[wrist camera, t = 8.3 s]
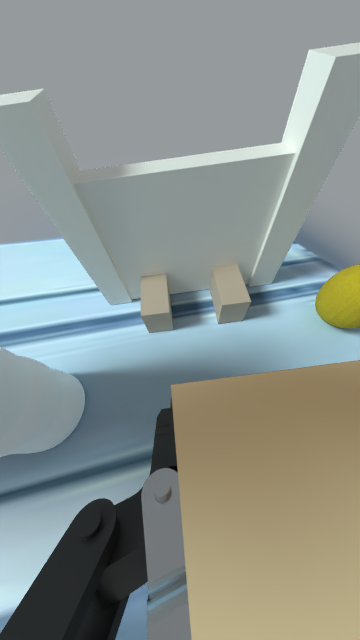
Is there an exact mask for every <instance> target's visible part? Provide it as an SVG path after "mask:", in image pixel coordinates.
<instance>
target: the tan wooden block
mask: <svg viewBox="0 0 360 640" xmlns="http://www.w3.org/2000/svg"><path fill="white" fill-rule="evenodd" d="M171 395H172V407H173V419H174V432H175V444H176V456H177V468H178V480H179V492H180V505H181V517H182V529H183V541H184V553H185V565H186V578H187V590H188V602H189V614H190V626H191V638H192V640H360V360H358V361H350V362H342V363H334V364H327V365H319V366H311V367H304V368H296V369H288V370H281V371H273V372H265V373H257V374H250V375H242V376H234V377H227V378H219V379H211V380H203V381H196V382H188V383H180V384H173V385H171Z"/></svg>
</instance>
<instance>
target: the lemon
mask: <svg viewBox="0 0 360 640" xmlns="http://www.w3.org/2000/svg"><path fill="white" fill-rule="evenodd" d="M315 306H316V311H317V313H318V315H319V316H320V317H321V318H322V319H323V320H324V321H325V322H327V323H328V324H330V325H332V326H335V327H340V328H358V327H360V264H357V265H353V266H351V267H348V268H346V269H343V270H342V271H340V272H338V273H337V274H335V275H334V276H333V277H331V278H330V279H329V280H328V281H327V282H326V283H325V284H324V285H323V286H322V287H321V289H320V291H319V292H318V294H317V297H316V302H315Z"/></svg>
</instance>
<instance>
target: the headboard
mask: <svg viewBox="0 0 360 640" xmlns="http://www.w3.org/2000/svg"><path fill="white" fill-rule="evenodd" d="M359 116H360V43H353V44H346V45H340V46H333V47H326V48H319V49H313V50H309V52H308V55H307V59H306V62H305V65H304V68H303V72H302V75H301V79H300V82H299V85H298V89H297V92H296V95H295V99H294V102H293V105H292V109H291V112H290V115H289V119H288V122H287V126H286V129H285V132H284V135H283V139H282V142H281V143H277V144H270V145H262V146H256V147H249V148H242V149H234V150H227V151H220V152H213V153H206V154H199V155H191V156H184V157H177V158H170V159H164V160H156V161H149V162H142V163H134V164H128V165H121V166H114V167H106V168H99V169H92V170H85V171H81V169H80V167H79V165H78V163H77V160H76V158H75V156H74V154H73V151H72V149H71V147H70V145H69V143H68V140H67V138H66V136H65V134H64V131H63V129H62V127H61V125H60V122H59V121H58V118H57V116H56V114H55V111H54V109H53V107H52V105H51V103H50V100H49V98H48V96H47V93H46V91H45V89H39V90H31V91H24V92H18V93H11V94H4V95H0V149H1V150H2V152H3V153H4V155H5V156H6V157H7V159H8V160H9V162H10V163H11V165H12V166H13V167H14V169H15V170H16V172H17V173H18V174H19V176H20V177H21V179H22V180H23V181H24V183H25V184H26V186H27V187H28V189H29V190H30V192H31V193H32V194H33V196H34V197H35V199H36V200H37V202H38V203H39V204H40V206H41V207H42V208H43V210H44V211H45V213H46V214H47V216H48V217H49V219H50V220H51V221H52V223H53V224H54V225H55V227H56V229H57V230H58V231H59V233H60V234H61V236H62V237H63V239H64V240H65V241H66V243H67V244H68V246H69V247H70V249H71V250H72V251H73V253H74V254H75V256H76V257H77V259H78V260H79V261H80V263H81V264H82V266H83V267H84V268H85V270H86V271H87V273H88V274H89V276H90V277H91V278H92V280H93V281H94V283H95V284H96V286H97V287H98V288H99V290H100V291H101V293H102V294H103V296H104V297H105V298H106V300H107V301H108V303H109V304H110V305H115V304H123V303H131V302H132V299H139V298H141V317H142V319H143V321H144V323H145V325H146V327H147V329H148V331H149V333H153V332H160V331H168V330H174V329H173V319H172V309H171V299H170V294H176V293H184V292H192V291H199V290H207V289H210V292H211V296H212V300H213V304H214V308H215V312H216V316H217V321H218V324H222V323H229V322H237V321H243V319H244V317H245V315H246V312H247V310H248V308H249V306H250V303H251V299H250V297H249V294H248V291H247V289H246V286H245V284H248V285H249V287H252V286H259V285H267V284H271V283H272V282H273V280H274V278H275V276H276V274H277V272H278V270H279V268H280V266H281V264H282V262H283V261H284V259H285V257H286V255H287V253H288V251H289V249H290V247H291V245H292V243H293V241H294V240H295V238H296V236H297V234H298V232H299V230H300V228H301V226H302V224H303V222H304V220H305V219H306V217H307V215H308V213H309V211H310V209H311V207H312V205H313V203H314V201H315V199H316V197H317V196H318V194H319V192H320V190H321V188H322V186H323V184H324V182H325V180H326V178H327V177H328V175H329V173H330V171H331V169H332V167H333V165H334V163H335V161H336V159H337V157H338V156H339V154H340V152H341V150H342V148H343V146H344V144H345V142H346V140H347V138H348V136H349V135H350V133H351V131H352V129H353V127H354V125H355V123H356V121H357V119H358V117H359Z"/></svg>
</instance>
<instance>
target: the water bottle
mask: <svg viewBox="0 0 360 640" xmlns="http://www.w3.org/2000/svg"><path fill="white" fill-rule="evenodd" d="M84 406H85V393H84V389H83V386H82V384H81V383H80V382H79V380H78V379H77V378H75V377H74V376H72V375H70V374H68V373H65V372H63V371H60V370H56V369H52V368H50V367H48V366H47V365H45V364H43V363H41V362H39V361H36V360H33V359H30V358H27V357H23V356H17V355H15V354H13V353H11V352H10V351H8V350H6V349H4V348H2V347H0V457H3V456H6V455H10V454H28V453H36V452H41V451H45V450H48V449H51V448H53V447H55V446H56V445H58V444H60V443H61V442H62V441H64V440H65V439H66V438H67V437H68V436H69V435H70V434H71V433H72V432H73V430H74V429H75V428H76V426H77V424H78V423H79V421H80V419H81V416H82V414H83V411H84Z"/></svg>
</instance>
